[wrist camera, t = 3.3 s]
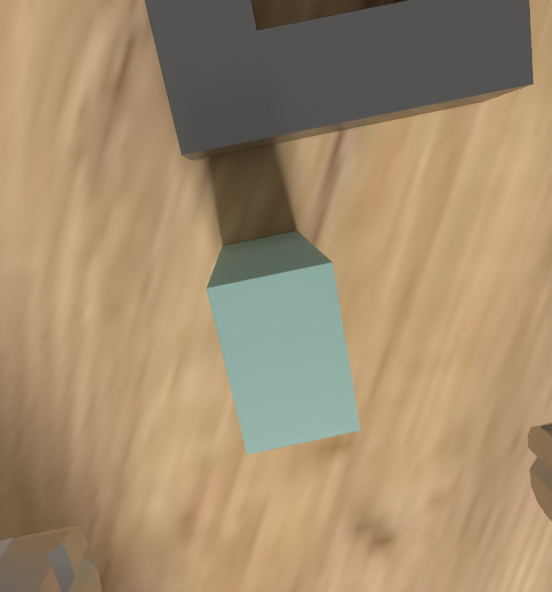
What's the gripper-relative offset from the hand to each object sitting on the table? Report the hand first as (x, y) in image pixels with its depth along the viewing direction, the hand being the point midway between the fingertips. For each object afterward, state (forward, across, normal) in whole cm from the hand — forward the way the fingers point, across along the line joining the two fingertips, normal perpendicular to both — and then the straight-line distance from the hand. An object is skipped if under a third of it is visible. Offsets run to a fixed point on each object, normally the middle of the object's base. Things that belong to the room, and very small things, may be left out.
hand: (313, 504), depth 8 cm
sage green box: (+17, 0, 0) cm, 17 cm away
